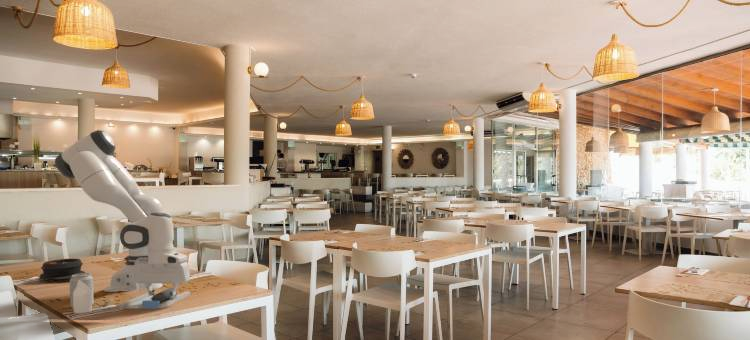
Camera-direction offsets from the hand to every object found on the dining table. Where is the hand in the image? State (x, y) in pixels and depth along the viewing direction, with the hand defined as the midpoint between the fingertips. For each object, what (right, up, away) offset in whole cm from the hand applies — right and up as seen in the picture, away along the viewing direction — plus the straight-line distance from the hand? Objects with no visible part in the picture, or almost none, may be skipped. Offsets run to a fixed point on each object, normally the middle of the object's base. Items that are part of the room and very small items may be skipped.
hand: (162, 295), depth 187 cm
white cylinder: (-24, -5, -9) cm, 26 cm away
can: (-30, -5, +1) cm, 30 cm away
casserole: (-70, -6, +56) cm, 89 cm away
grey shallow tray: (-3, -4, +2) cm, 5 cm away
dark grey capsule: (-1, -2, +1) cm, 3 cm away
